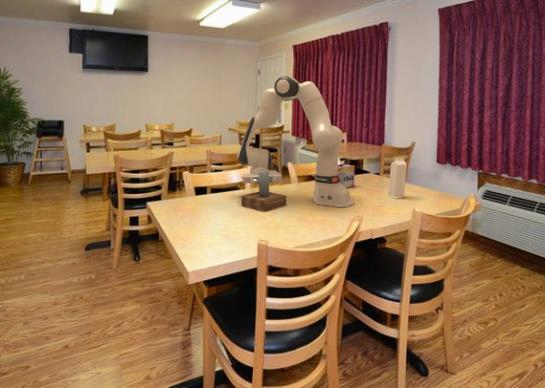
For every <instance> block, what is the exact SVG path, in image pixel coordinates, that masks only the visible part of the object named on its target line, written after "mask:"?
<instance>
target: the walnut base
mask: <svg viewBox="0 0 545 388" xmlns="http://www.w3.org/2000/svg"><path fill="white" fill-rule="evenodd" d="M241 206H242V207H246V208H249V209H253V210H256V211H257V210H258V211H262V212H265V213H266V212H268V211H272V210H277V209H279V208H282V207H285V206H287V195H285V194H281V193H275V192H271V191H269V196H268V197H260V196H259V191H257V192H253V193H249V194H245V195H241Z"/></svg>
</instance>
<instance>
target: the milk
mask: <svg viewBox="0 0 545 388" xmlns="http://www.w3.org/2000/svg"><path fill="white" fill-rule="evenodd" d="M407 166H408V164H407V163H406V161H405V158H404V157H394V159H393V161H392V162H391V163H390V173H389V184H388V196H389V195H390V196H393V197H405V189H406V188H405V187H406V177H407Z"/></svg>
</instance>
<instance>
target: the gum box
mask: <svg viewBox="0 0 545 388" xmlns="http://www.w3.org/2000/svg"><path fill="white" fill-rule="evenodd" d="M355 166H356V165H355V164H354V165H350V164H348V163H344V164H343V163H341V164H338V169H337V175H338V176H339V177H342V178H341V179H340V183H341V184H342V185H343V186H344V187H350V186H354V187H355V173H356V172H355V169H356V167H355ZM350 188H351V187H350Z"/></svg>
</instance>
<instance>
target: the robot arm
mask: <svg viewBox="0 0 545 388" xmlns="http://www.w3.org/2000/svg"><path fill="white" fill-rule="evenodd" d="M297 99H298V100H299V102H300V104H301V106H302V109H303V111H304V114H305V115H306V118H307V120H308V123H309V127H310V132H311V135H312V137H311V138H312V142H313V145H314V146H315V147H316V148H318V149H319V150H318V154H317V157H316V164H315V165H316V167H315V174H314V183H315V184H314V191H313V195H312V198H311V201H312V202H313V203H314V204H315V205H321V206H322V205H323V206H329V207H335V208H347V207H351V206H353V205H354V203H355V200H352V198H351V193H350V190H349V189H348V188H345V187H344V186H343V185H342V184H341V183H340V179H341V178H342V177H339V176H338V175H337V169H338V165H339V156H340V151H341V145H342V140H343V137H344V136H343V135H344V134H343V132H342V129H340V128H339V127H337V126H335V125H332V123H331V118H330V112H329V110H328V107H327V104H326V102H325V100H324V98H323V96H322V94H321V92H320V90H319V89H318V88H317V85H316V84H315V83H314V82H312V81H309V80H308V81H304V82H302V83H300V81H298V80H296V79H295V78H293V77H291V76H289V75H288V76H287V75H284V76H283V75H282V76H280V77H278V79H276V81H275V83H274V87H273V88H271V87H270V88H267V89H265V90H264V91H263V93H262V96H261V98H260V103H259V108H258V112H257V113H256V115H254V116H253V117H251V119H250V121H249V123H248V125H247V128H246V130H245V134H244V137H243V139H242V142H241V145H240V147H239V149H238V152H237V154H236V159H237V161H238V163H239V164H240V165H243V166H245V165H246V166H251V167H250V169H249V173H244V174H243V175H242V176H241V177H240V179H241V180H242V183H243V184H255V185H258V186H259V172H262V171H266V172H269V184H270V183H271V184H274V183H282V182H283V175H282V174H281V173H280V172H278V171H277V170H276V169H270V168H271V166H272V154H271V152H270V151H269V149H264V148H263V149H262V148H258V147H251V146H250V145H251V142H252V139H253V137H254V134H255V133H256V132H257V130H260V129H264V128H269V127H272V126H273V125H275V124H276V123H277V122H278V121H279V116H280V113H281V112H280V111H281V107H282V103H283V102H287V101H289V102H290V101H294V100H297Z"/></svg>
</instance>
